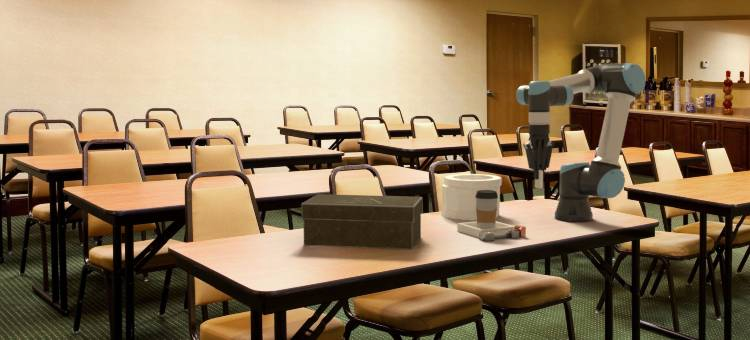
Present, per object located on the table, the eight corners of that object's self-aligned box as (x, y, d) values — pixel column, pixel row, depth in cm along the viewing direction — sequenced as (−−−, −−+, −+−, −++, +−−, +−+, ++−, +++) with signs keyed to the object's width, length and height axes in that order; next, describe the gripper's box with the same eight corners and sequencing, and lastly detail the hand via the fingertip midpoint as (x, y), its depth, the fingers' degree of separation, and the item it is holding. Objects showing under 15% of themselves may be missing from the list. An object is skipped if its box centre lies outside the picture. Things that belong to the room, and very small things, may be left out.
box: (413, 250, 266) (414, 206, 265) (301, 246, 274) (301, 203, 272) (422, 237, 288) (422, 196, 286) (318, 233, 295) (317, 194, 294)
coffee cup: (496, 233, 290) (497, 193, 288) (474, 232, 292) (474, 192, 290) (497, 229, 298) (498, 190, 296) (475, 228, 300) (476, 189, 298)
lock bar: (518, 234, 291) (519, 225, 290) (525, 236, 287) (525, 226, 287) (478, 239, 283) (478, 229, 282) (484, 241, 279) (484, 231, 279)
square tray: (490, 227, 305) (491, 219, 305) (515, 234, 292) (515, 226, 291) (457, 231, 298) (457, 223, 298) (480, 238, 285) (480, 230, 284)
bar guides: (510, 235, 290) (511, 229, 289) (519, 237, 285) (519, 231, 285) (479, 239, 283) (479, 232, 283) (486, 241, 279) (487, 234, 279)
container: (469, 208, 351) (469, 172, 349) (511, 215, 334) (512, 177, 332) (430, 215, 334) (430, 177, 332) (473, 222, 317) (473, 182, 315)
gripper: (546, 122, 294) (546, 185, 297) (518, 124, 288) (518, 188, 291) (560, 123, 287) (559, 187, 290) (531, 125, 281) (531, 190, 284)
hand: (538, 187), depth 290 cm, fingers closed
